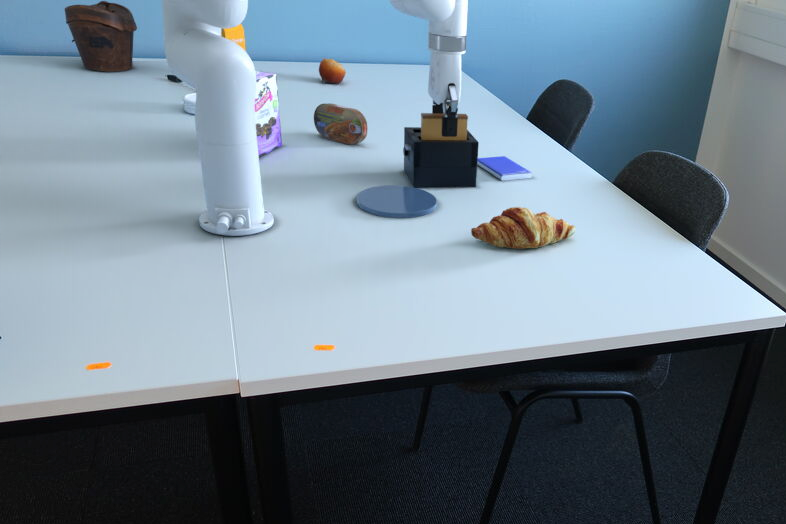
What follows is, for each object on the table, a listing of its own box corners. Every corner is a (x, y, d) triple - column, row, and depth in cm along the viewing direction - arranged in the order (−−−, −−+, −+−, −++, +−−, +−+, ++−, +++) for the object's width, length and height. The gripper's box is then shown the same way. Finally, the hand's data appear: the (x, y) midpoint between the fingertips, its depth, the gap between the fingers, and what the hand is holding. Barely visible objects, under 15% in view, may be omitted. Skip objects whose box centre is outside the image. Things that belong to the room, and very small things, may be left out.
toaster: (475, 187, 166) (478, 142, 161) (407, 188, 161) (408, 141, 156) (463, 171, 174) (465, 127, 169) (398, 171, 169) (398, 127, 164)
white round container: (226, 116, 192) (225, 102, 190) (184, 115, 188) (182, 101, 187) (225, 106, 200) (223, 92, 198) (184, 105, 196) (182, 91, 194)
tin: (313, 135, 186) (311, 100, 182) (322, 132, 188) (320, 98, 184) (361, 148, 181) (360, 113, 176) (369, 146, 183) (369, 111, 179)
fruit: (310, 74, 234) (323, 51, 233) (333, 88, 239) (345, 66, 237) (315, 80, 228) (328, 57, 227) (338, 94, 233) (351, 71, 231)
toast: (465, 164, 164) (468, 116, 159) (421, 164, 161) (422, 115, 156) (463, 161, 166) (465, 113, 160) (420, 162, 162) (421, 113, 157)
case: (132, 59, 233) (121, -4, 224) (152, 73, 221) (141, 7, 212) (67, 61, 223) (53, -5, 214) (84, 76, 211) (70, 6, 201)
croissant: (564, 248, 150) (561, 208, 150) (588, 244, 141) (585, 201, 140) (465, 254, 142) (461, 211, 141) (483, 250, 133) (479, 204, 132)
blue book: (532, 171, 174) (505, 155, 183) (501, 174, 170) (476, 158, 179) (531, 178, 175) (505, 162, 184) (501, 181, 171) (475, 164, 180)
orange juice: (208, 80, 221) (198, 6, 211) (227, 75, 228) (219, 3, 218) (231, 84, 219) (223, 10, 209) (249, 79, 227) (242, 7, 216)
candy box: (252, 161, 165) (244, 84, 156) (227, 157, 165) (218, 80, 157) (283, 145, 176) (277, 72, 168) (260, 141, 177) (253, 69, 168)
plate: (441, 218, 148) (441, 213, 148) (358, 217, 144) (358, 212, 144) (432, 190, 161) (432, 186, 161) (355, 188, 157) (355, 184, 157)
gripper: (420, 34, 156) (418, 118, 165) (438, 51, 142) (435, 142, 152) (455, 36, 159) (451, 119, 168) (476, 53, 145) (471, 142, 154)
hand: (444, 129), depth 160 cm, fingers open, 8 cm apart
